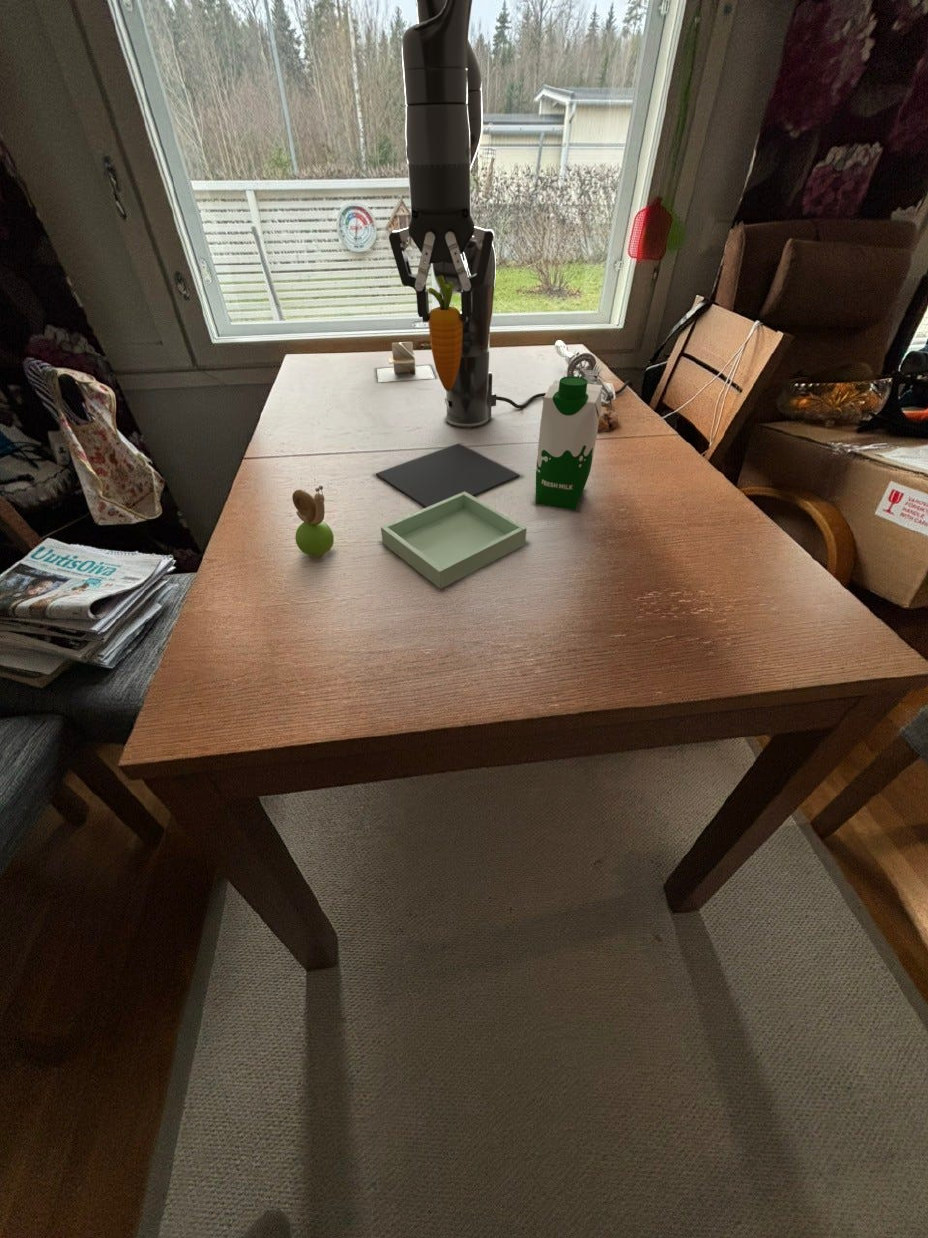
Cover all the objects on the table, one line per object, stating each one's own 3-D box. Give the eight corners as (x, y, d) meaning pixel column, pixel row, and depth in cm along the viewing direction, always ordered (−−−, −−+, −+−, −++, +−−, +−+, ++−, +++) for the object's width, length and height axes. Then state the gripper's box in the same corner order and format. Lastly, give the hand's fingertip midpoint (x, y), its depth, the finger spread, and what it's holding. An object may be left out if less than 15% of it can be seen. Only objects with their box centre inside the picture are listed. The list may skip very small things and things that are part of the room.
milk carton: (529, 506, 86) (540, 382, 72) (540, 481, 92) (553, 363, 78) (580, 514, 84) (601, 389, 70) (589, 489, 90) (610, 369, 76)
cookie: (582, 411, 116) (584, 397, 114) (626, 421, 112) (628, 407, 110) (562, 425, 111) (564, 411, 108) (607, 436, 106) (610, 422, 104)
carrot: (460, 398, 76) (457, 281, 66) (428, 396, 77) (421, 280, 67) (466, 386, 80) (465, 273, 70) (436, 384, 81) (430, 273, 70)
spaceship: (574, 332, 137) (550, 322, 133) (634, 389, 114) (608, 378, 111) (559, 361, 142) (536, 352, 138) (614, 421, 119) (588, 412, 116)
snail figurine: (323, 570, 73) (305, 496, 65) (292, 556, 76) (270, 483, 67) (349, 551, 76) (334, 478, 68) (318, 539, 79) (300, 467, 71)
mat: (458, 445, 104) (458, 443, 103) (519, 476, 93) (519, 474, 93) (376, 475, 94) (375, 473, 94) (434, 513, 84) (433, 511, 84)
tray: (464, 507, 86) (464, 491, 84) (525, 544, 77) (526, 527, 75) (382, 543, 78) (380, 526, 76) (440, 589, 70) (439, 571, 68)
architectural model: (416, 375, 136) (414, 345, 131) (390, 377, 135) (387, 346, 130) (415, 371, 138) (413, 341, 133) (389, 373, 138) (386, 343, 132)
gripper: (499, 156, 62) (496, 313, 74) (385, 159, 63) (400, 313, 75) (497, 159, 57) (494, 327, 69) (373, 162, 58) (390, 327, 70)
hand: (445, 319), depth 72 cm, fingers closed on carrot, 5 cm apart
